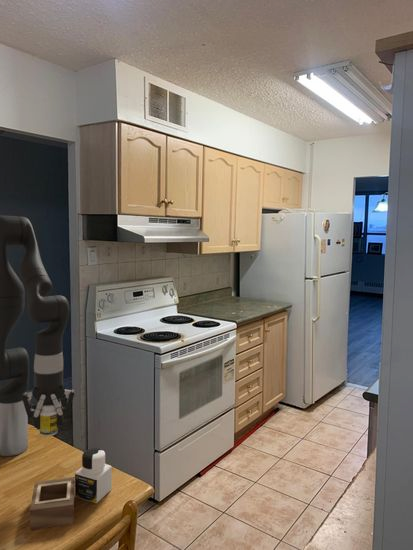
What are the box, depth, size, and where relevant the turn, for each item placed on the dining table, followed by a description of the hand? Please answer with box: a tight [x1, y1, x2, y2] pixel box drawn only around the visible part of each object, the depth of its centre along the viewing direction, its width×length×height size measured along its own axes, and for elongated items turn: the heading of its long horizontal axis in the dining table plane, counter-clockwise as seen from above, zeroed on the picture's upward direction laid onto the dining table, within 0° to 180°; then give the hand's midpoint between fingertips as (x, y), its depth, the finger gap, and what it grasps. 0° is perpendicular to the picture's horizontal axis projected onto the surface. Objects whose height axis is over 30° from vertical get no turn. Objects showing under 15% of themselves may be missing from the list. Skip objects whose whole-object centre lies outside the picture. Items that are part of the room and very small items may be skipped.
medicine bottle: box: [74, 447, 113, 504], centre depth 117 cm, size 7×7×12 cm
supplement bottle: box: [39, 404, 59, 437], centre depth 118 cm, size 5×5×8 cm
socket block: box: [29, 476, 76, 531], centre depth 109 cm, size 12×10×5 cm
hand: (48, 427), depth 119 cm, fingers closed on supplement bottle, 4 cm apart
